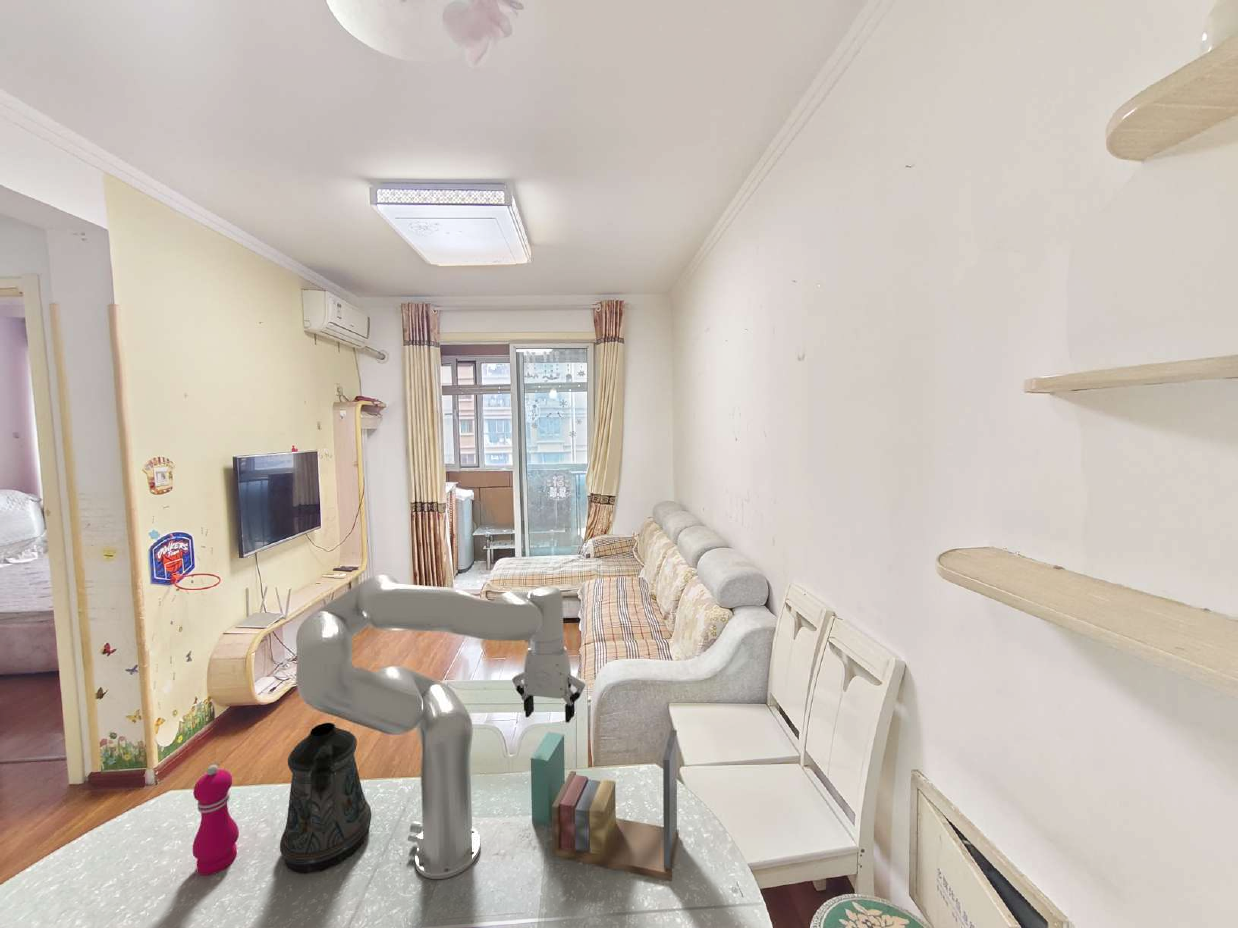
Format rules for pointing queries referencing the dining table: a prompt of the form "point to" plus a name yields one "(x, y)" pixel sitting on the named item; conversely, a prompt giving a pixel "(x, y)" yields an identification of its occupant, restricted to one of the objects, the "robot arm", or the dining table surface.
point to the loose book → (547, 776)
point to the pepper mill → (214, 822)
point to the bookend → (670, 798)
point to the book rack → (605, 831)
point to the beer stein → (324, 802)
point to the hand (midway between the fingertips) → (549, 716)
